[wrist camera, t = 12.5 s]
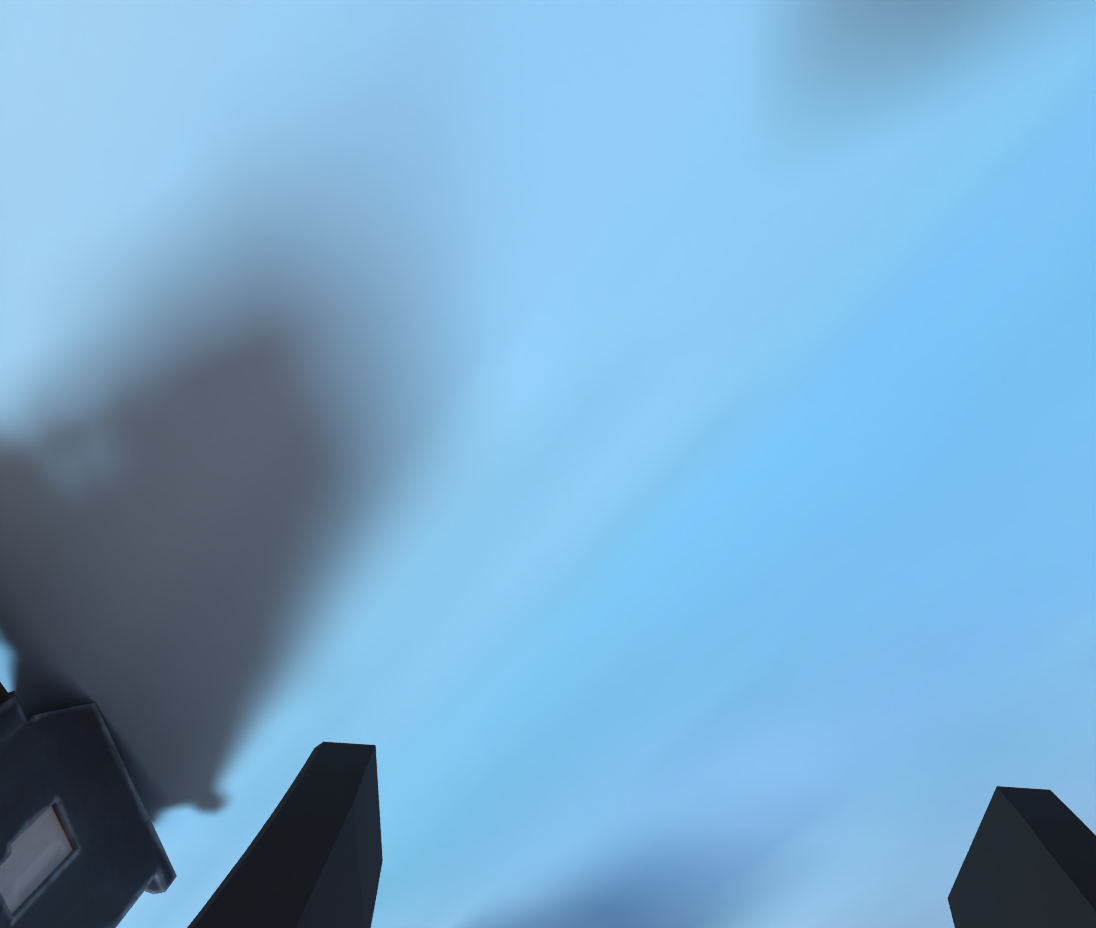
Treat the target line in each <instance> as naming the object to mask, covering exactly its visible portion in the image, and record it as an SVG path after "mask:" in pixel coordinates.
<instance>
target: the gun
mask: <svg viewBox="0 0 1096 928" xmlns="http://www.w3.org/2000/svg"><path fill="white" fill-rule="evenodd" d="M176 877H177V876H176V873H175V871H174V869H173V867H172V865H171V863H170V861H169V858H168V856H167V854H166V852H165V850H164V848H163V846H162V843H161V841H160V839H159V837H158V835H157V833H156V831H155V829H154V826H153V824H152V822H151V820H150V818H149V816H148V814H147V811H146V809H145V807H144V805H143V803H142V801H141V799H140V796H139V794H138V792H137V790H136V788H135V786H134V784H133V781H132V779H131V777H130V775H129V773H128V771H127V769H126V766H125V764H124V762H123V760H122V758H121V756H120V754H119V752H118V749H117V747H116V745H115V743H114V741H113V739H112V737H111V734H110V732H109V730H108V728H107V726H106V724H105V722H104V719H103V717H102V715H101V713H100V711H99V709H98V707H97V704H96V702H95V703H90V704H85V705H80V706H75V707H70V708H66V709H61V710H56V711H51V712H46V713H41V714H37V715H33V716H29V717H27V715H26V713H25V711H24V709H23V707H22V705H21V703H20V701H19V699H18V697H17V695H16V693H15V691H12V692H9V693H8V692H7V691H6V689H5V688H4V687H3V685H2V684H1V682H0V928H116V927H117V925H118V924H119V923H120V921H121V920H122V919H123V918H124V916H125V915H126V914H127V912H128V911H129V910H130V909H131V907H132V906H133V905H134V903H135V902H136V901H137V899H138V898H139V897H140V896H141V894H142V893H143V892H144V891H146V892H149V893H151V894H157V893H162V892H165V891H166V890H167V889H168V887H169V886H170V885H171V883H172V882H173V881H174V879H175V878H176Z"/></svg>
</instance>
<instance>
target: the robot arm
mask: <svg viewBox="0 0 1096 928" xmlns="http://www.w3.org/2000/svg"><path fill="white" fill-rule="evenodd" d="M381 866H382V844H381V828H380V811H379V795H378V779H377V762H376V746H375V745H364V744H349V743H334V742H322V743H321V744H320V745H318V746H317V747H315V748H314V750H313V751H312V753H311V755H310V756H309V758H308V760H307V761H306V763H305V764H304V766H303V768H302V769H301V771H300V772H299V774H298V775H297V777H296V779H295V780H294V782H293V783H292V785H291V786H290V788H289V789H288V791H287V792H286V794H285V795H284V797H283V798H282V800H281V801H280V803H279V804H278V806H277V807H276V809H275V810H274V812H273V813H272V815H271V816H270V817H269V819H268V820H267V822H266V823H265V824H264V826H263V827H262V829H261V830H260V832H259V833H258V834H257V836H256V837H255V839H254V840H253V841H252V843H251V844H250V846H249V847H248V849H247V850H246V851H245V853H244V854H243V855H242V857H241V858H240V859H239V861H238V862H237V863H236V865H235V866H234V867H233V869H232V870H231V871H230V873H229V874H228V875H227V877H226V878H225V879H224V880H223V882H222V883H221V884H220V886H219V887H218V888H217V890H216V891H215V892H214V894H213V895H212V896H211V898H210V899H209V900H208V902H207V903H206V904H205V906H204V907H203V908H202V910H201V911H200V912H199V913H198V915H197V916H196V917H195V919H194V920H193V921H192V922H191V924H190V925H189V926H188V927H187V928H371V922H372V917H373V912H374V906H375V900H376V895H377V889H378V883H379V877H380V872H381ZM948 901H949V905H950V909H951V913H952V918H953V922H954V926H955V928H1096V835H1095V834H1094V833H1093V832H1092V831H1091V830H1090V829H1089V828H1088V827H1087V826H1086V825H1085V824H1084V823H1083V822H1082V821H1081V820H1080V819H1079V818H1078V817H1077V816H1076V815H1075V814H1074V813H1073V812H1072V811H1071V810H1070V809H1069V808H1068V807H1067V806H1066V805H1065V804H1064V803H1063V802H1062V801H1061V800H1060V799H1059V798H1058V797H1057V796H1056V795H1055V794H1054V793H1053V792H1052V791H1051V790H1044V789H1029V788H1014V787H999V786H997V787H996V790H995V792H994V794H993V796H992V799H991V801H990V803H989V805H988V808H987V810H986V812H985V815H984V817H983V819H982V821H981V824H980V826H979V828H978V830H977V833H976V835H975V837H974V840H973V842H972V844H971V846H970V849H969V851H968V853H967V855H966V858H965V860H964V862H963V865H962V867H961V869H960V871H959V874H958V876H957V878H956V880H955V883H954V885H953V887H952V890H951V892H950V894H949V896H948Z"/></svg>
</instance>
